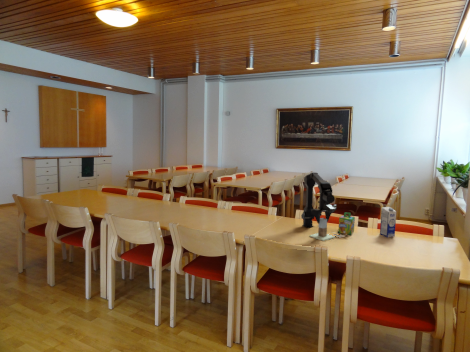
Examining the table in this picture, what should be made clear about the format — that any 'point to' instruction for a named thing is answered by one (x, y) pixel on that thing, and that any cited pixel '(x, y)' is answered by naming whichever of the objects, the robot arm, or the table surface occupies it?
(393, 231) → the milk carton
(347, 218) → the chalk box
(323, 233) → the walnut block
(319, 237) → the plate
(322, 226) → the gray block
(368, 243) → the table surface
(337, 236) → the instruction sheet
